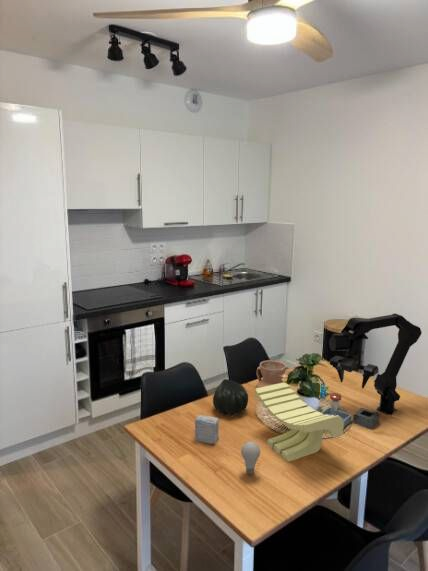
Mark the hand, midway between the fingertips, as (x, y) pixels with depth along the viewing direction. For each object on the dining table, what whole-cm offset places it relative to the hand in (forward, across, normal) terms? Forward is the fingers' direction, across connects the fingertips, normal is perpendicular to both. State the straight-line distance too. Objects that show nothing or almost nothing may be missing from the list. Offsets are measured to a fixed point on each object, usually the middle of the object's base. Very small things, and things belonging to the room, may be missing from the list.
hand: (352, 385), depth 176 cm
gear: (+13, -19, +7) cm, 24 cm away
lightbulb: (+13, -6, -61) cm, 63 cm away
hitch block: (+13, +8, -2) cm, 15 cm away
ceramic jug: (+13, -36, -6) cm, 39 cm away
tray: (+13, -2, -11) cm, 17 cm away
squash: (+13, -38, -33) cm, 52 cm away
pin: (+12, -2, -11) cm, 17 cm away
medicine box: (+13, -30, -56) cm, 65 cm away
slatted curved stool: (+13, -4, -37) cm, 40 cm away
